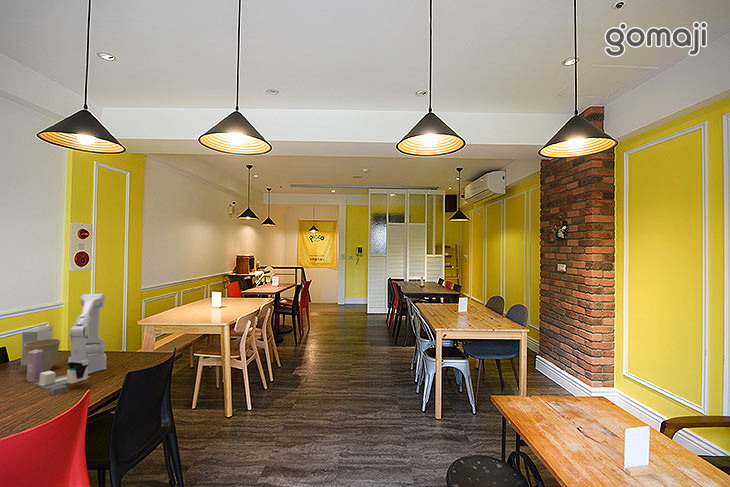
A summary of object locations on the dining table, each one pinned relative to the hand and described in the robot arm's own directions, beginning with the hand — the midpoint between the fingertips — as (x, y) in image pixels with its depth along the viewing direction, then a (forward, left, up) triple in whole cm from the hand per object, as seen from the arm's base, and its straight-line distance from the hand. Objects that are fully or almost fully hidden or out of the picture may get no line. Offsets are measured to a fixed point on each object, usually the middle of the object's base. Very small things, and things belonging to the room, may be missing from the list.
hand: (77, 377), depth 174 cm
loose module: (0, 0, -2) cm, 2 cm away
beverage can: (+6, -29, -5) cm, 30 cm away
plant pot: (-2, -43, -5) cm, 43 cm away
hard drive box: (-8, -65, -5) cm, 66 cm away
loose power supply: (+8, +1, -5) cm, 10 cm away
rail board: (0, -14, -5) cm, 15 cm away
